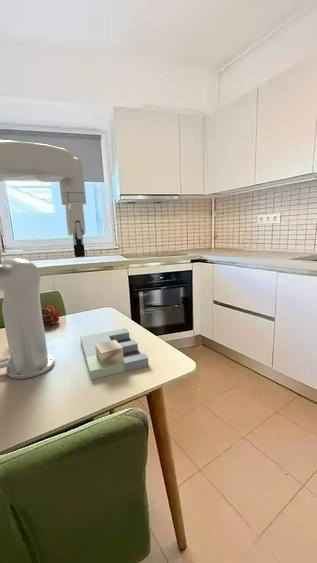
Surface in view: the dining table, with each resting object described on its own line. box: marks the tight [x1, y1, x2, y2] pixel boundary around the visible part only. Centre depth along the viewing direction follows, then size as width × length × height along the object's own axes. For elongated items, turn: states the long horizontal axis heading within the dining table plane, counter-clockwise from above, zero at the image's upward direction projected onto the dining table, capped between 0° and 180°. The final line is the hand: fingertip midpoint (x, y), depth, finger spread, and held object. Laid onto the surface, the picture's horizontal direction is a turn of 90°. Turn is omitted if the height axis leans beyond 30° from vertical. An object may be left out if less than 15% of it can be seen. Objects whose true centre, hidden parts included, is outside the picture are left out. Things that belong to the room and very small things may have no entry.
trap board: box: [79, 327, 149, 380], centre depth 86 cm, size 16×24×2 cm, turn 21°
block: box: [95, 340, 124, 367], centre depth 77 cm, size 6×6×4 cm
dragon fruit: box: [41, 304, 60, 326], centre depth 114 cm, size 8×8×12 cm
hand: (79, 256), depth 92 cm, fingers closed
